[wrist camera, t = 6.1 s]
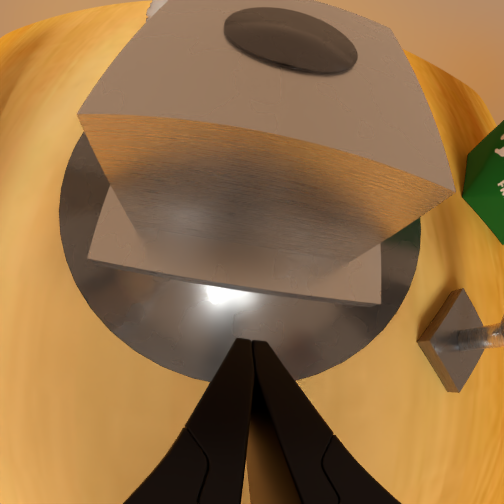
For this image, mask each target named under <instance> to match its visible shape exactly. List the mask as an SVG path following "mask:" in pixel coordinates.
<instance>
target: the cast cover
mask: <svg viewBox="0 0 504 504" xmlns="http://www.w3.org/2000/svg"><path fill="white" fill-rule="evenodd" d="M77 116H78V118H79V121H80V123H81V125H82V127H83V129H84V132H85V134H86V136H87V138H88V140H89V143H90V145H91V147H92V149H93V151H94V153H95V155H96V157H97V159H98V161H99V163H100V165H101V167H102V169H103V171H104V173H105V175H106V177H107V179H108V181H109V183H110V187H109V190H108V192H107V195H106V198H105V201H104V204H103V207H102V210H101V213H100V216H99V219H98V222H97V225H96V229H95V232H94V235H93V239H92V242H91V246H90V250H89V253H88V257H87V259H89V260H90V261H91V262H93V263H94V264H95V265H99V266H104V267H109V268H114V269H119V270H124V271H129V272H134V273H139V274H145V275H150V276H155V277H161V278H166V279H172V280H178V281H183V282H189V283H195V284H201V285H207V286H213V287H220V288H226V289H232V290H239V291H246V292H252V293H259V294H266V295H273V296H281V297H288V298H296V299H303V300H311V301H319V302H328V303H336V304H345V305H354V306H363V307H372V306H375V305H379V304H381V244H380V243H381V242H383V241H384V240H386V239H387V238H389V237H391V236H392V235H394V234H395V233H397V232H398V231H400V230H401V229H403V228H404V227H406V226H407V225H409V224H410V223H412V222H413V221H415V220H416V219H418V218H419V217H421V216H422V215H424V214H425V213H427V212H428V211H430V210H431V209H433V208H434V207H435V206H437V205H438V204H440V203H441V202H443V201H444V200H445V199H447V198H448V197H450V196H451V195H452V194H454V193H455V192H456V191H455V186H454V182H453V178H452V174H451V171H450V167H449V163H448V160H447V156H446V153H445V150H444V147H443V144H442V140H441V137H440V135H439V132H438V129H437V126H436V123H435V120H434V118H433V115H432V113H431V110H430V107H429V105H428V103H427V100H426V98H425V95H424V93H423V91H422V88H421V86H420V84H419V82H418V80H417V78H416V75H415V73H414V71H413V69H412V67H411V65H410V63H409V61H408V59H407V57H406V55H405V54H404V52H403V50H402V48H401V46H400V44H399V43H398V41H397V39H396V37H395V36H394V34H393V32H392V31H391V29H390V28H388V27H386V26H383V25H381V24H379V23H377V22H374V21H372V20H369V19H367V18H365V17H362V16H359V15H357V14H354V13H351V12H348V11H346V10H343V9H340V8H337V7H334V6H331V5H328V4H325V3H321V2H318V1H314V0H168V1H167V2H166V3H165V4H164V5H163V6H162V7H161V8H160V9H159V10H158V11H157V12H156V13H155V14H154V15H153V16H152V17H151V18H150V19H149V20H148V21H147V22H146V23H145V24H144V25H143V26H142V28H141V29H140V30H139V31H138V32H137V33H136V34H135V35H134V36H133V38H132V39H131V40H130V41H129V42H128V43H127V45H126V46H125V47H124V48H123V49H122V51H121V52H120V53H119V54H118V56H117V57H116V58H115V59H114V61H113V62H112V63H111V65H110V66H109V67H108V69H107V70H106V71H105V73H104V74H103V75H102V77H101V78H100V80H99V81H98V82H97V84H96V85H95V87H94V88H93V90H92V91H91V93H90V94H89V96H88V97H87V99H86V100H85V102H84V103H83V105H82V106H81V108H80V110H79V111H78V113H77Z"/></svg>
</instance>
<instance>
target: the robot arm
mask: <svg viewBox="0 0 504 504" xmlns="http://www.w3.org/2000/svg"><path fill="white" fill-rule="evenodd" d="M246 461H247V471H248V481H249V491H250V500H251V504H401V503H400V502H399V501H398V500H397V499H395V498H394V497H393V496H392V495H391V494H390V493H389V492H388V491H387V490H386V489H385V488H383V487H382V486H381V485H380V484H379V483H378V482H377V481H376V480H375V479H374V478H373V477H372V476H371V475H370V474H369V473H368V472H367V471H366V470H365V469H364V468H363V467H362V466H361V465H360V464H359V463H358V462H357V461H356V460H355V459H354V457H353V456H352V455H351V454H350V453H349V451H348V450H347V449H346V448H345V447H344V445H343V444H342V443H341V442H340V440H339V439H338V438H337V436H336V435H333V431H332V430H331V429H330V427H329V426H328V425H327V423H326V422H325V421H324V419H323V418H322V417H321V415H320V414H319V413H318V411H317V410H316V409H315V407H314V406H313V405H312V403H311V402H310V401H309V399H308V398H307V397H306V395H305V394H304V392H303V391H302V390H301V388H300V387H299V386H298V384H297V383H296V381H295V380H294V379H293V377H292V376H291V374H290V373H289V372H288V370H287V369H286V368H285V366H284V365H283V363H282V362H281V360H280V359H279V358H278V356H277V355H276V353H275V352H274V351H273V349H272V348H271V346H270V345H269V343H268V342H267V341H263V340H252V341H251V340H250V339H246V338H236V339H235V340H234V342H233V344H232V346H231V347H230V349H229V351H228V353H227V354H226V356H225V358H224V360H223V361H222V363H221V365H220V367H219V368H218V370H217V372H216V374H215V375H214V377H213V379H212V380H211V382H210V384H209V386H208V387H207V389H206V391H205V392H204V394H203V396H202V398H201V399H200V401H199V403H198V404H197V406H196V408H195V409H194V411H193V413H192V414H191V416H190V418H189V419H188V421H187V423H186V424H185V428H183V429H182V431H181V432H180V434H179V436H178V437H177V439H176V440H175V442H174V443H173V445H172V446H171V448H170V449H169V451H168V452H167V454H166V455H165V457H164V458H163V459H162V460H161V462H160V463H159V464H158V465H157V466H156V468H155V469H154V470H153V471H152V473H151V474H150V475H149V476H148V477H147V478H146V479H145V480H144V481H143V482H142V484H141V485H140V486H139V487H138V488H137V489H136V490H135V491H134V492H133V493H132V494H131V495H130V496H129V497H128V499H127V500H126V501H125V502H124V503H123V504H241V497H242V488H243V480H244V472H245V463H246Z"/></svg>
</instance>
